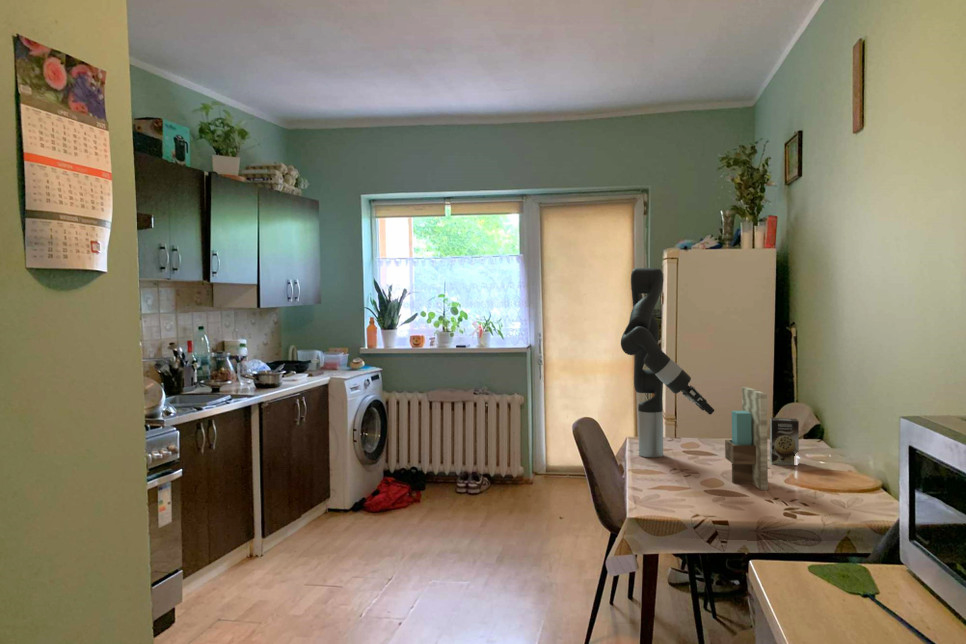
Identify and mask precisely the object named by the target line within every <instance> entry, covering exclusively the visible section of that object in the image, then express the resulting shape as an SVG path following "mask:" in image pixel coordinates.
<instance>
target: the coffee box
mask: <svg viewBox="0 0 966 644" xmlns="http://www.w3.org/2000/svg"><path fill="white" fill-rule="evenodd" d="M769 419H770V424H769V425H770V426H769V428H770V430H769V431H770V435H769V436H770V437H769V438H770V439H769V441H770V443H769V447H770V448H769V459H770V464H771V465H774V464H777V466H790V465H793V466H794V456H795V454H796V453H797V452H799V451H800V449H799V448H800V447H799V442H800V441H799V438H800V437H799V435H800V434H799V433H800V431H799V430H800V429H799V427H800V425H799V422H800V421H799V420H798V419H797V418H787V417H784V418H783V417H782V418H780V417H770V418H769ZM799 453H800V452H799ZM794 467H795V466H794Z"/></svg>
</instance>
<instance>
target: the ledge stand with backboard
mask: <svg viewBox="0 0 966 644" xmlns="http://www.w3.org/2000/svg"><path fill="white" fill-rule="evenodd" d="M741 411H747V412H749V413H751V445H735V444H733V443H732V439H725V440H724V450H725V451H724V454H725V455H724V457H725V459H726V460H727V461H728V462H730V463H731V482H732V483H733V484H753V485H754V486H755V485H756V486H755V487H757V489H759V490H760V491H768V490H769V488H768V487H769V484H768V483H769V482H768V481H769V480H768V479H769V478H768V474H769V473H768V472H769V471H768V465H769V464H768V394H767V393H765V392H763V391H759V390H758V389H755V388H751V387H750V386H742V387H741Z"/></svg>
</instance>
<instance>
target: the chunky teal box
mask: <svg viewBox="0 0 966 644" xmlns="http://www.w3.org/2000/svg"><path fill="white" fill-rule="evenodd" d="M731 440H732V443H733V444H735V445H751V413H749V412H747V411H742V410H731Z"/></svg>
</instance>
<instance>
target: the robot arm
mask: <svg viewBox="0 0 966 644" xmlns="http://www.w3.org/2000/svg"><path fill="white" fill-rule="evenodd" d="M663 284H664V273H663V271H662V269H661V268H658V267H657V268H656V267H655V268H654V267H635V268H633V270H632V271H631V275H630V287H631V289H630V290H631V298H632V300H631V301H632V309H631V312H630V316H629V320H628V324H627V326H626V328H625V329H624V331H623V333H622V335H621V339H620V348H621V349H622V351H623V352H624V353H625V354H626V355H629V356H634V366H633V368H634V369H633V384H634V385H633V386H634V390H635V392H636V393H637V394H654V395H653V396H652V397H651V398H649V399H647V400H645V401H641V402H639V403H638V405H637V410H638V411H637V412H638V415H637V416H638V418H637V419H638V421H637V422H638V455H639V456H641V457H644V458H660V457H664V409H663V407H664V406H663V401H664V400H663V393H664V392H663V391H664V385H665V387H667V388H668V389H669V391H671V393H673V394H679V393H680V392H682V393H681V394H682V395H683V397H685V398H686V399H687V400H688V401H690V402H691V403H693V404H695V405H696V406H697V407H698V408H699V409H700V410H701V411H705V412H706V413H707V414H708V415H709V416H710V415H712V414H713V413H714V412H715V409H714V408H713V407H712V405H710V403H708V401H707V399H705V398H704V397H703V395H702V394H701V393H700V392H699V391H697V389H696V388H695V387H694V386H692V385H689V383H690V382H691V380H692V377H691V376H690V375H689V374H688V373H687V372H686V371H685V370H684V369H683V368H682V367H680V366H679V364H678V363H677V362H676V361H674V360H672V359H671V358H670V357H669V356H668V355H667V353H665V352H664V351H663V350H662V349H661V347H660V346H659V339H660V336H659V335H660V333H659V332H660V331H659V330H660V329H659V323H658V320H657V319H656V317H655V316H654V315H653V314H654V310H655V308H656V305H657V303H658V300H659V298H660V297H661V292H662V290H663ZM643 295H645V296H644V297H643ZM644 366H646V367H647V369H644Z"/></svg>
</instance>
